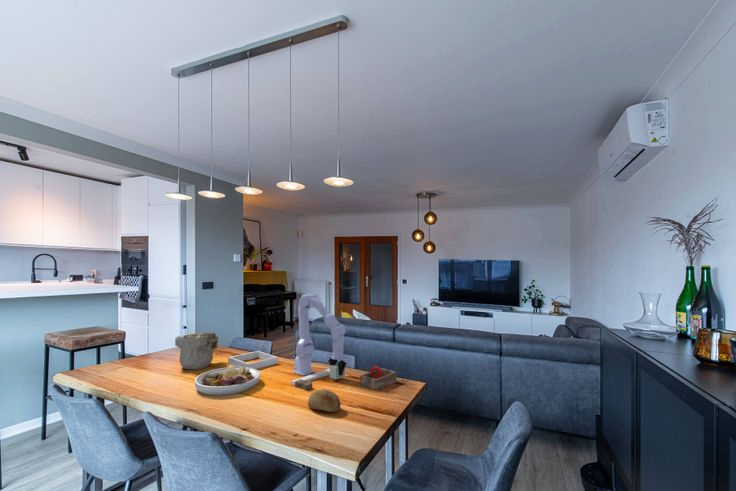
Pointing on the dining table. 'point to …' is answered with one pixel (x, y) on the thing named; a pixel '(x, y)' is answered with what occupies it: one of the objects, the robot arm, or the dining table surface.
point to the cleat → (303, 384)
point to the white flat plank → (313, 376)
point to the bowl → (227, 380)
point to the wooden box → (378, 383)
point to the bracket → (378, 373)
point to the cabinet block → (335, 372)
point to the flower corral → (265, 357)
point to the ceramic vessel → (196, 349)
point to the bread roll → (324, 400)
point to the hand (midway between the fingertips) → (337, 373)
